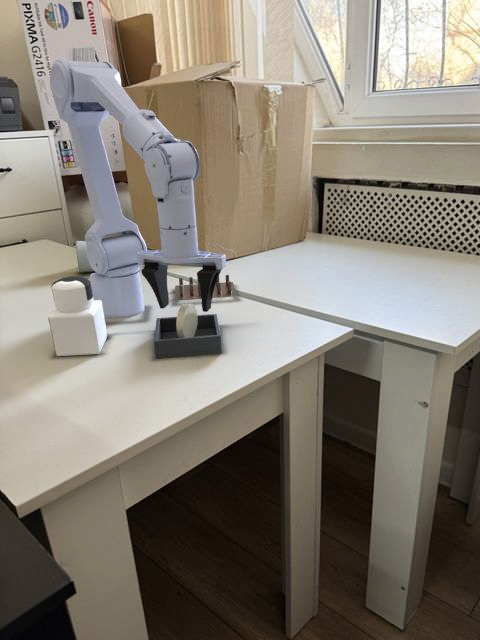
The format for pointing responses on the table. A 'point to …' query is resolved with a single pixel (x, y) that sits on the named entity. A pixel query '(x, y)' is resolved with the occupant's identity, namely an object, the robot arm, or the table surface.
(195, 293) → the dish rack
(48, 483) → the table surface
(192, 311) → the saucer
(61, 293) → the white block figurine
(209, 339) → the dark grey open box
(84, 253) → the ceramic mug
